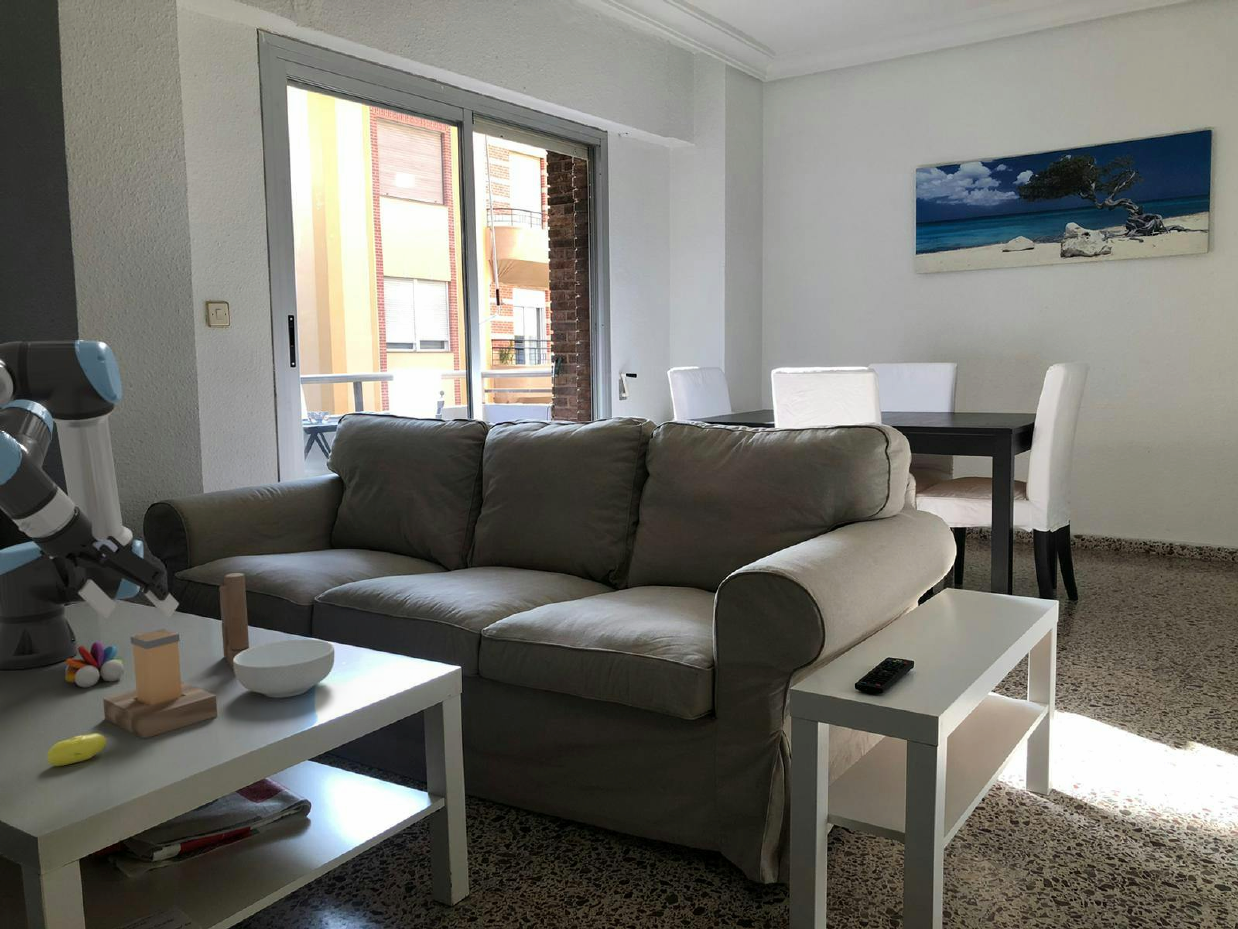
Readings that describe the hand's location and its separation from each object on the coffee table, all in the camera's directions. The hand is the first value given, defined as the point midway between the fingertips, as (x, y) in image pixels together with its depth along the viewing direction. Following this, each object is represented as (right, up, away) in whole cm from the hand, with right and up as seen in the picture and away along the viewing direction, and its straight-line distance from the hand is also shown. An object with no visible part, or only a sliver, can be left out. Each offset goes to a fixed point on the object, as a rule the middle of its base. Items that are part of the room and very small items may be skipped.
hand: (141, 611), depth 156 cm
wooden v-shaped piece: (+3, -15, +32) cm, 36 cm away
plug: (+2, -18, +3) cm, 18 cm away
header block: (+2, -18, +3) cm, 18 cm away
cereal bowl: (+18, -17, +16) cm, 29 cm away
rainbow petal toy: (-20, -17, +23) cm, 35 cm away
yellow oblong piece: (-3, -20, -13) cm, 24 cm away
